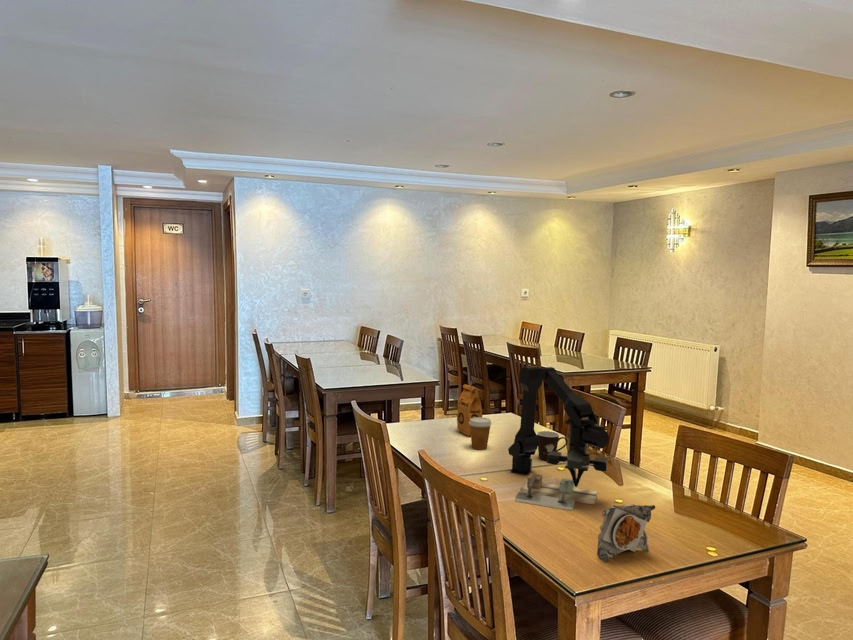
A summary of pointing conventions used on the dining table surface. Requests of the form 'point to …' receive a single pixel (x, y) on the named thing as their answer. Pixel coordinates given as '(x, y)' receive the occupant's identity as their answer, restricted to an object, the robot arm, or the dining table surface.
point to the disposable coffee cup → (479, 432)
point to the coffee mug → (548, 443)
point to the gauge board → (556, 490)
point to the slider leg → (566, 487)
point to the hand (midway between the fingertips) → (576, 486)
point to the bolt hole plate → (545, 501)
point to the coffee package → (468, 409)
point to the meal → (623, 530)
